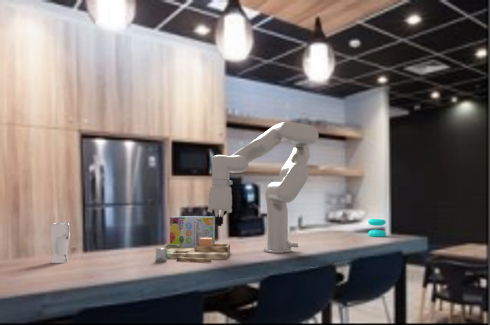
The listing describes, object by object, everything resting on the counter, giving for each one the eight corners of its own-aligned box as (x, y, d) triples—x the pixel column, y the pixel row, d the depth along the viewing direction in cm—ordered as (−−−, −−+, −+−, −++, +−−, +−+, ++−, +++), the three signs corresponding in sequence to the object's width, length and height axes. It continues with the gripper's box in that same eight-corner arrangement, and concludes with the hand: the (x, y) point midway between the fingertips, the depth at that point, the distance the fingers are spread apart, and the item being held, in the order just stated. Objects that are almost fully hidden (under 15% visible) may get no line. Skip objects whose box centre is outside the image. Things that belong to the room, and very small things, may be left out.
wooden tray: (230, 253, 186) (230, 243, 186) (225, 259, 170) (225, 249, 170) (168, 252, 188) (168, 243, 188) (158, 258, 172) (158, 248, 172)
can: (168, 260, 168) (168, 247, 168) (165, 262, 163) (165, 249, 164) (157, 260, 168) (157, 247, 168) (154, 262, 164) (154, 249, 164)
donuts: (364, 218, 251) (379, 218, 254) (365, 235, 251) (379, 235, 254) (374, 220, 242) (389, 219, 245) (374, 237, 241) (389, 236, 244)
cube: (212, 249, 184) (212, 237, 184) (210, 250, 179) (210, 239, 179) (201, 248, 184) (201, 237, 184) (199, 250, 179) (199, 238, 179)
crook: (214, 261, 167) (214, 257, 167) (209, 263, 162) (209, 259, 163) (181, 259, 171) (181, 255, 171) (176, 261, 166) (176, 257, 166)
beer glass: (50, 264, 159) (51, 224, 160) (49, 261, 165) (50, 223, 166) (70, 262, 162) (71, 223, 163) (68, 260, 168) (69, 222, 169)
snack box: (215, 247, 204) (215, 216, 205) (213, 248, 198) (213, 216, 199) (172, 246, 206) (172, 215, 207) (169, 248, 200) (169, 216, 201)
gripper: (238, 184, 186) (237, 225, 184) (205, 183, 187) (203, 224, 186) (236, 183, 178) (235, 227, 177) (202, 183, 179) (200, 226, 178)
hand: (219, 225), depth 181 cm, fingers closed
